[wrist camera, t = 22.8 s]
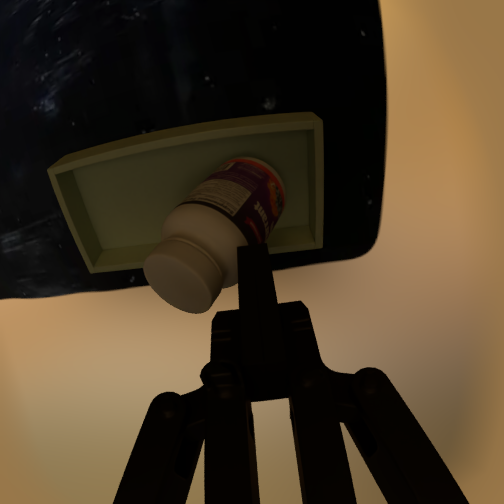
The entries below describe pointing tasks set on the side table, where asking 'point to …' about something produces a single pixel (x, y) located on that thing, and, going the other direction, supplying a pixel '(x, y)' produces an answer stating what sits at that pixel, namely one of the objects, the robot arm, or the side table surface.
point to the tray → (186, 183)
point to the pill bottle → (214, 233)
